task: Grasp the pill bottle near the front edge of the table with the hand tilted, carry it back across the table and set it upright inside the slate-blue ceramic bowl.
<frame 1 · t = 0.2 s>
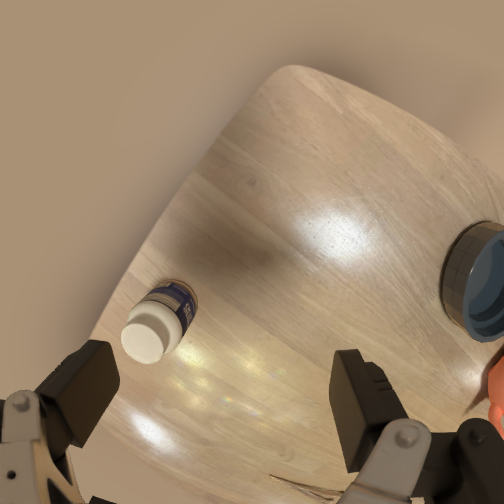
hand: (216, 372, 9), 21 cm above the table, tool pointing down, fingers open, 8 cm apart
pill bottle: (175, 301, 32), on the table
jawbone: (306, 486, 39), on the table
bowl: (479, 274, 29), on the table
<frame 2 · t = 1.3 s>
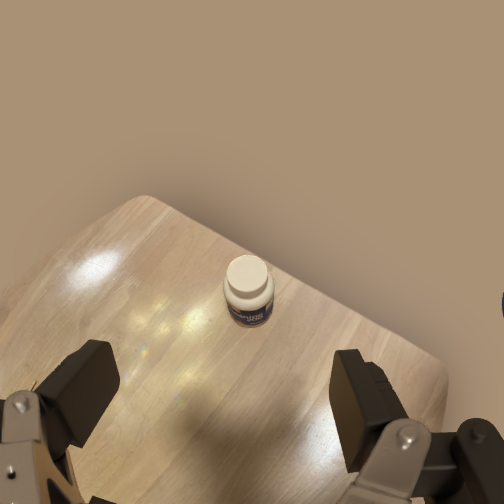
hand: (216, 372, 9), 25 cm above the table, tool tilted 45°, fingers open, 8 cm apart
pill bottle: (251, 308, 37), on the table
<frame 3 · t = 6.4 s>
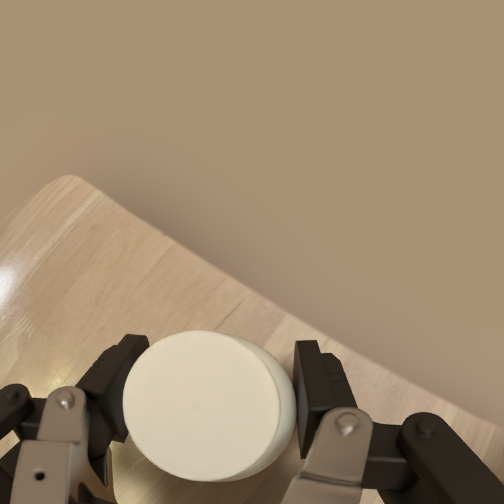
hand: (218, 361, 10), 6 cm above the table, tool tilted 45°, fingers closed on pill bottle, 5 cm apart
pill bottle: (234, 410, 15), on the table, touching gripper
when the fingers open (7 cm above the table, at t = 17.0 s): pill bottle stays where it is, resting on bowl.
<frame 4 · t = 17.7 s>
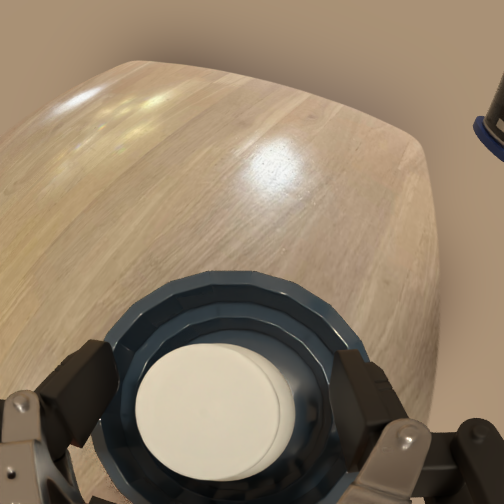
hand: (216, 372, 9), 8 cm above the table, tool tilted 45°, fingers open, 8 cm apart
pill bottle: (235, 413, 15), point 1 cm above the table, touching bowl
bowl: (235, 411, 16), on the table
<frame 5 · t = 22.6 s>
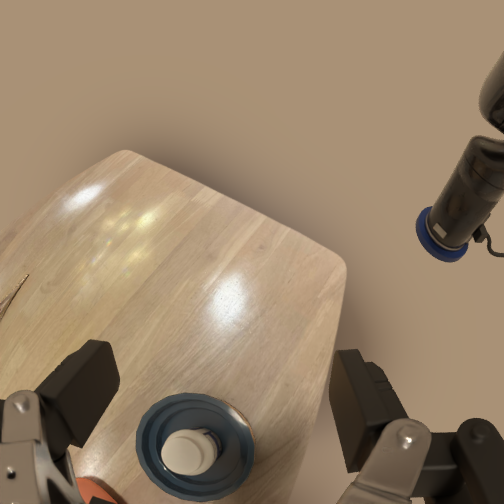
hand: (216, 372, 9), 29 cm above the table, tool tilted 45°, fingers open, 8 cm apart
pill bottle: (201, 446, 30), point 1 cm above the table, touching bowl
jawbone: (6, 307, 41), on the table
bowl: (201, 444, 31), on the table
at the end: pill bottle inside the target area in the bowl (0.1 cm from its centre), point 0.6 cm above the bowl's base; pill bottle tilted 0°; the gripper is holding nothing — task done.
